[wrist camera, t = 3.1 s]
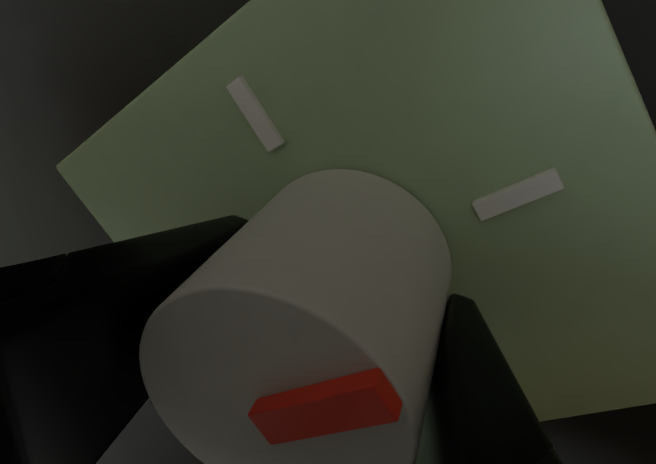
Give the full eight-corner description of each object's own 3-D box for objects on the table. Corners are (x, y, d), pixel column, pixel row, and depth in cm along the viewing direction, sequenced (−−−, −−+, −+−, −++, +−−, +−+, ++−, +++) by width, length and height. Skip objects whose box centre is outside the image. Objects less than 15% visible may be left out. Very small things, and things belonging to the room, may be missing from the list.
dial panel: (315, 398, 16) (282, 468, 14) (124, 136, 13) (47, 169, 11) (712, 303, 10) (766, 394, 8) (509, -172, 8) (509, -230, 6)
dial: (325, 358, 11) (237, 541, 8) (226, 216, 10) (71, 349, 7) (489, 310, 9) (474, 529, 6) (385, 129, 8) (287, 251, 5)
